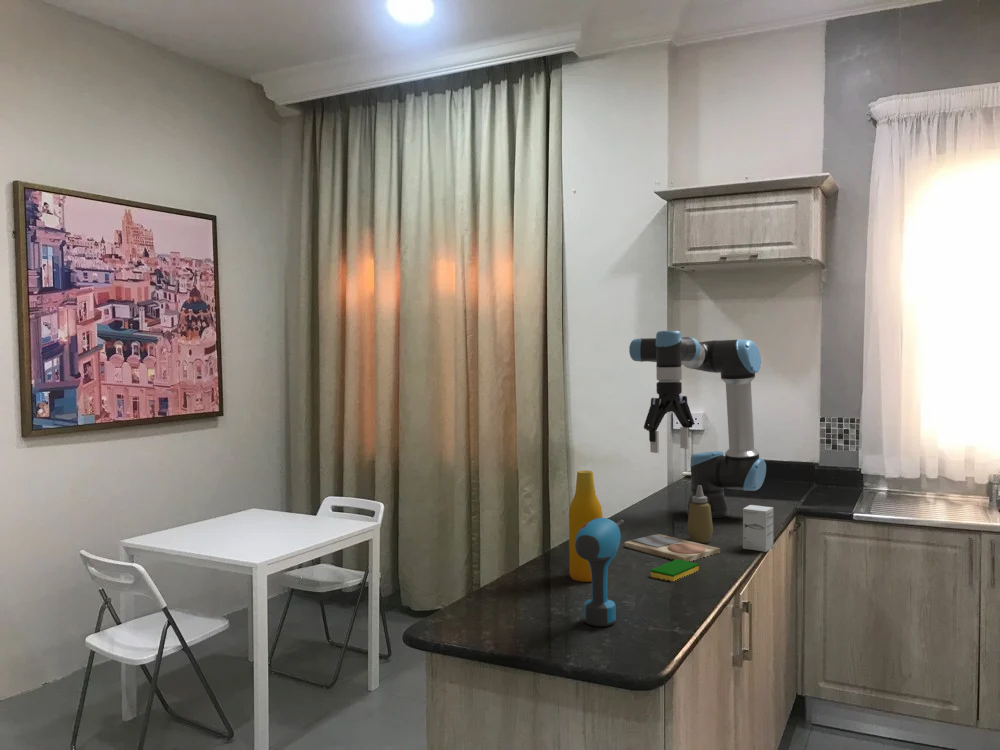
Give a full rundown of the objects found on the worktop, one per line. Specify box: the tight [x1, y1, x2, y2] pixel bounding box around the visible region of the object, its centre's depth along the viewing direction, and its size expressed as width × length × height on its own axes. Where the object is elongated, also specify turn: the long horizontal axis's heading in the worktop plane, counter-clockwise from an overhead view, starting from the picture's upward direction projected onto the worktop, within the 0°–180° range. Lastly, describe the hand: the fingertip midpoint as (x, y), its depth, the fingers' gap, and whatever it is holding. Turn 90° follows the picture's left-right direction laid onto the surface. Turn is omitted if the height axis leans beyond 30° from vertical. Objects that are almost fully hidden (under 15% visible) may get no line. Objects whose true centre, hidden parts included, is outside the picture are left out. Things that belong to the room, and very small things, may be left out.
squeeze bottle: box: [686, 485, 714, 544], centre depth 244 cm, size 8×8×18 cm
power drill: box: [575, 517, 625, 627], centre depth 178 cm, size 28×9×23 cm, turn 154°
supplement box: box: [742, 504, 775, 553], centre depth 234 cm, size 7×7×13 cm
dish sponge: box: [650, 559, 700, 582], centre depth 210 cm, size 7×14×2 cm, turn 136°
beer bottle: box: [568, 470, 604, 583], centre depth 208 cm, size 9×9×29 cm
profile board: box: [624, 533, 721, 562], centre depth 234 cm, size 16×24×2 cm, turn 36°
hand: (669, 450), depth 234 cm, fingers open, 13 cm apart
